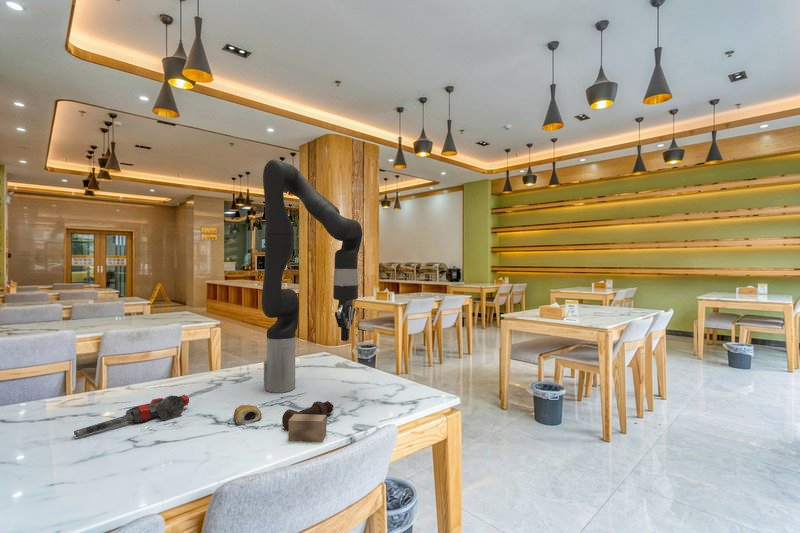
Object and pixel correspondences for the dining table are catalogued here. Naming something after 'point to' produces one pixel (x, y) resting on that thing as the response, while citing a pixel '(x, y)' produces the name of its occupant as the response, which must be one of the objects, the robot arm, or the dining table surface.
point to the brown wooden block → (307, 428)
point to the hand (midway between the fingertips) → (345, 340)
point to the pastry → (247, 414)
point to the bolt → (308, 412)
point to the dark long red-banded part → (144, 413)
